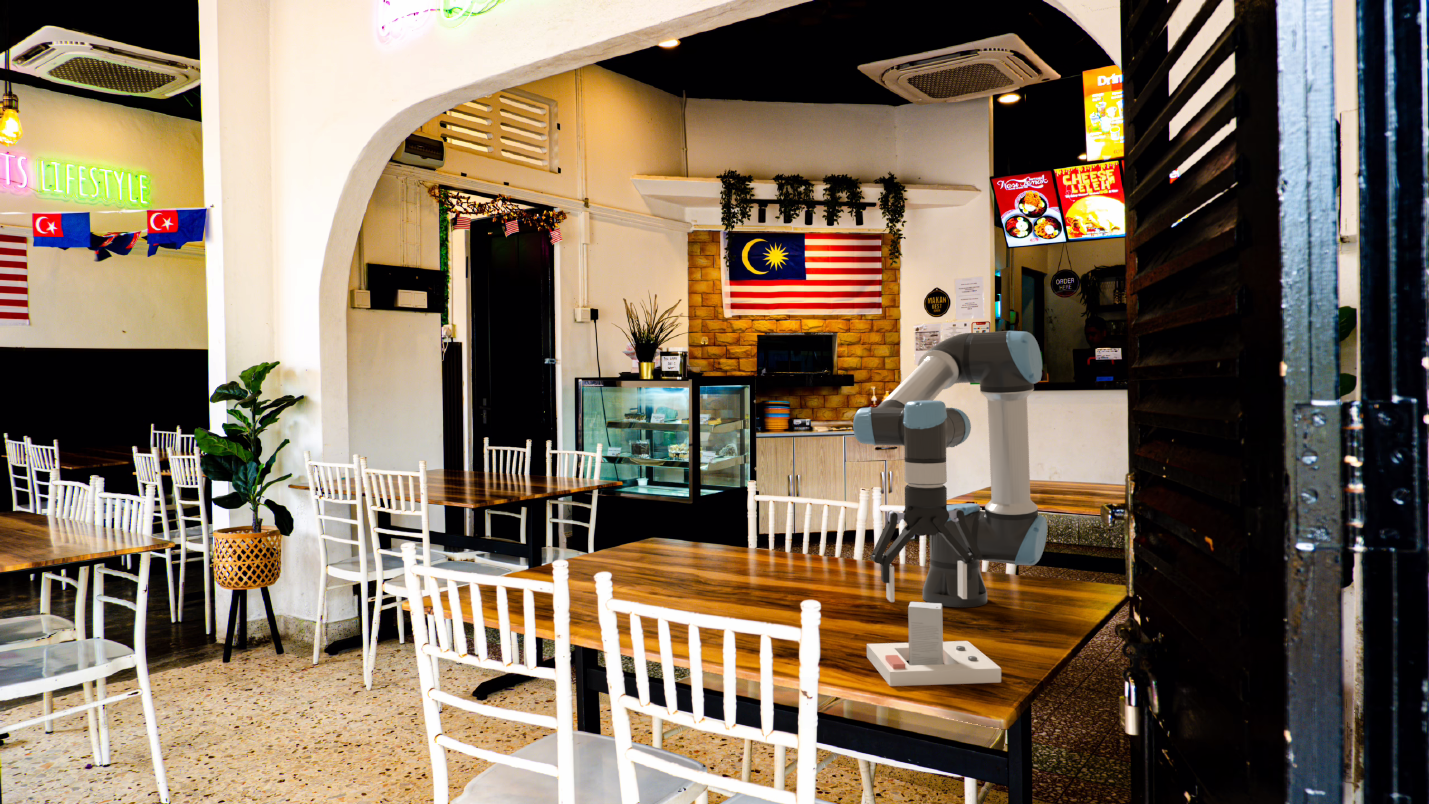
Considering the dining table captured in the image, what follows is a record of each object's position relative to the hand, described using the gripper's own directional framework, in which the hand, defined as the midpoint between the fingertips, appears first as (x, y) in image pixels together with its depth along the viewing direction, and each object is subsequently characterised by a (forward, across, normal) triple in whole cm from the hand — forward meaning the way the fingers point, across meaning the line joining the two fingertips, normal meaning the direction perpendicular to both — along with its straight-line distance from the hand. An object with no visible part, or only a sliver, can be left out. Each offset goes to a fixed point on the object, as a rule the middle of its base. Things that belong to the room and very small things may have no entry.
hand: (926, 598), depth 158 cm
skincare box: (+13, 0, 0) cm, 13 cm away
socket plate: (+13, 0, +1) cm, 13 cm away
